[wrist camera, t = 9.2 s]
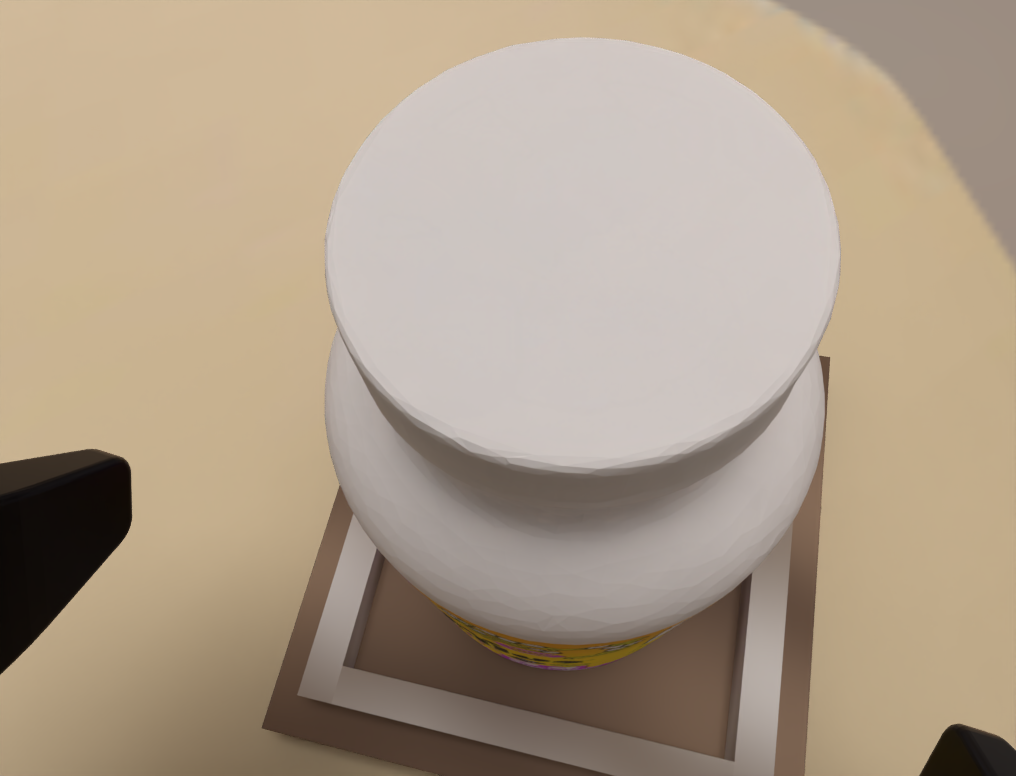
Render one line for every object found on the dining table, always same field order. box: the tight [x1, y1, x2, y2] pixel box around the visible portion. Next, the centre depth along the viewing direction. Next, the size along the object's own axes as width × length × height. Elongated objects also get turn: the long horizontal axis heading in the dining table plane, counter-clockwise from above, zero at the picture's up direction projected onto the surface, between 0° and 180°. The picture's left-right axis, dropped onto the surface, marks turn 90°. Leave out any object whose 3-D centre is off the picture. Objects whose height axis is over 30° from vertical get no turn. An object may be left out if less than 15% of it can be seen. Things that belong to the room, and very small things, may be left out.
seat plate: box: [262, 356, 830, 776], centre depth 19 cm, size 12×12×2 cm
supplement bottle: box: [325, 38, 841, 671], centre depth 13 cm, size 7×7×13 cm
